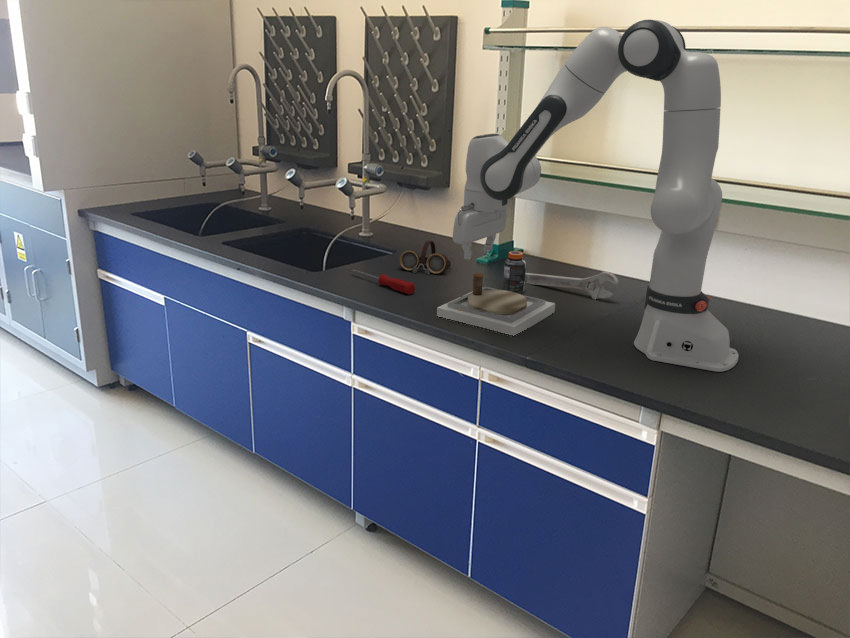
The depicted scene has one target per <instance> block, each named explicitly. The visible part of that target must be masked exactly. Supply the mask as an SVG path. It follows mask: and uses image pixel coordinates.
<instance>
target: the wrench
mask: <svg viewBox="0 0 850 638" xmlns="http://www.w3.org/2000/svg"><path fill="white" fill-rule="evenodd" d="M525 277H527V281H526V283H529V284H528V285H533V286H535V285H536V286H537V285H538V286H545V287H546V286H547V287H556V288H568V289H569V288H570V289H574V290H575V289H577V290H580V291H581V290H582V291H584V292H585V293H587V294H588V295H590V296H591V299H592V300H594V301H597V300H599V299H607V298H611V297H613V296H614V293H613V292H612V291H610V290H608V289H605V285H604V284H605V282H607V281H608V282H609V283H612V285H618V284H619V279H618V277H617V275H615V274H614V273H612V272H610V271H602V272H600V273H598V274H596V275H595V274H594V275H591V276H589V277H584V278H581V277H580V278H579V277H573V276H572V277H571V276H570V277H569V276H561V275H551V274H540V273H531V272H525ZM526 283H525V284H526ZM596 299H597V300H596Z"/></svg>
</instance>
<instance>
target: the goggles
mask: <svg viewBox="0 0 850 638" xmlns="http://www.w3.org/2000/svg"><path fill="white" fill-rule="evenodd" d="M429 245H430V251H431V254H430V255H429V256H428V257H427V256H426V255H427V251H428V248H429ZM420 254H421V255H419V253H417V251H416V250H413V249H409V250H406V251H404V252H402V254H401V255H400V258H399V264H400V266H401V268H403V270H406V271H412V273H414V274H416V273H417V272H418V270H419V269H420V268H421V269H423V270H424V274H426V275H430V274H431V273H432V274H437V275H438V274H443V273H445V272H447V270H448V268H450V267H451V265H452V264H451V260H449V259H448V257H447V256H446V255H445V254H444V253H441V252H437V251H436V245H435V242H434V241H433V240H426V241H425V242H424V245H423V246H422V250H421V253H420Z"/></svg>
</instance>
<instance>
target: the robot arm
mask: <svg viewBox="0 0 850 638" xmlns="http://www.w3.org/2000/svg"><path fill="white" fill-rule="evenodd" d="M686 46H687V45H686V41H685V38H684V35H683V33H682V32H680V30H679V29H678V28H676V27H675V26H673V25H671V24H669V22H665V21H663V20H658V19H643V20H640V21H637V22H635V23H633V24H631V25H630V26H628V28H626V30H625V31H624V32H623V34H622V33H621V32H619V30H617V29H614V28H612V27H608V26H600V27H596V28H594V29H593V30H592V31H591V32H589V33H588V34H587V36H585V38H584V39H582V40H581V42H580V43H579V44H578V46H577V47H576V48H574V50H572V52H571V54H570V55H569V57H567V60H566V61H565V62H564V64H563V65H562V67H561V68H560V69H559V71H558V72H557V74H556V76H555V77H554V79H553V80H552V82H550V83H551V84H550V85H549V87H548V88H547V90H546V92H545V93H544V95H543V96H542V98H541V99H540V101H539V102H538V103H537V106H536V107H535V109H534V110H533V111H532V113H531V114H530V115H529V116H528V117H527V119H526V120H525V121H524V123H523V124H522V126H521V127H520V128H519V129H518V130H517V132H516V133H515V134H514V136H513V137H512V138H511V140H510V141H507V140H506V139H505V138H504V137H503V136H502V135H501V134H499V133H487V134H482V135H481V134H480V135H477V136H473V137H472V138H471V139H470V141H469V143H468V147H467V153H466V161H465V174H466V181H465V184H464V190H463V191H464V195H463V205H462V206H461V207H460V209H459V210H458V211H457V213H456V215H455V217H454V224H453V231H452V240H453V243H455V244H457V245H461V247H462V250H463V258H464V259H465V260H471V259H474V251H472V248H471V247H472V246H473V243H474V242H477V241H480V240H482V239H486V240H485V243H484V244H483V251H484V252H486V253H489V252H490V253H491V251H493V245H494V243H495V240H496V236H497V234H499V233H502V232H504V231H505V228H506V225H507V224H506V223H507V217H508V208H507V206H508V205H509V203H510V199H511V198H513V197H515V196H517V195H518V194H521V193H523V192H526V191H527V190H530V189H531V188H533V187H534V186H536V185H537V183H538V182H539V180H540V178H541V173H542V166H541V163H540V160H539V159H538V157H537V156H536V155H537V154H539V151H540V150H541V149H542V148H543V146H544V145H545V144H546V143H547V142H548V140H549V139H550V138H552V136H553V135H554V134H555V133H556V132H558V131H560V129H563V127H566V126H567V125H568V124H571V123H574V122H576V121H577V120H579V119H581V118H583V117H584V116H586V115H587V114H588V113H589V112H590V111H591V110H592V109H593V108H594V107H595V106H596V105H597V104H598V103H599V102H600V101H601V100H602V98H603V97H604V95H605V94H606V92H607V91H608V90H609V89H610V87H612V85H613V83H614V82H615V80H617V78H619V76H620V75H622V74H624V73H625V72H628V73H630V74H632V75H633V76H636V77H639V78H644V79H649V80H653V81H656V82H660V83H661V85H662V88H663V94H664V96H663V97H664V99H663V120H662V122H663V124H662V125H663V126H662V145H661V146H662V147H661V148H662V149H661V156H660V162H659V167H658V172H657V177H656V182H655V188H654V189H655V190H654V195H653V198H652V201H651V204H650V216H651V220H652V221H653V224H654V225H655V226H656V227H657V228H658V229H659V230H660V235H659V238H658V242H657V244H656V246H655V249H654V252H653V257H652V264H651V271H650V279H649V285H647V287H646V291H645V296H644V304H643V305H644V306H643V307H644V308H643V309H644V313H643V317H642V321H641V323H640V327H639V330H638V333H637V335H636V337H635V339H634V341H633V345H634V347H635V348H636V349H637V350H638V351H640V352H642V353H643V354H645V355H646V357H647V359H649V360H651V361H655V362H662V363H665V364H671V365H672V364H673V365H678V366H682V367H683V366H684V367H689V368H693V369H694V368H695V369H699V370H705V371H706V370H707V371H710V372H711V371H712V372H717V373H718V372H719V373H721V372H725V371H729V370H731V369H732V368H734V367H735V366H736V365H737V364H738V361H739V353H738V351H737V350H736V349H735V348H732V347H731V346H730V333H729V330H728V328H727V326H725V325H724V324H723V323H721V321H720V320H719V319H718V318H716V317H715V315H713V314H712V313H711V312H710V311H709V310H708V309H709V305H710V301H711V294H710V295H708V296H707V295H706V294H705V293H704V292H703V291H702V288H703V283H704V282H703V281H704V276H705V270H706V269H705V268H706V264H707V258H708V254H709V251H710V247H711V244H712V240H713V237H714V233H715V229H716V227H717V221H718V218H719V213H720V209H721V206H722V202H723V201H722V200H723V192H722V189H721V188H722V187H721V186H720V184H719V182H718V181H717V180H715V179H713V178H712V177H713V172H714V167H715V161H716V157H717V153H718V150H719V144H720V129H721V128H720V126H721V124H720V123H721V107H722V105H721V104H722V89H721V88H722V87H721V77H720V69H719V64H718V61H717V59H716V58H715V57H714V56H712V55H711V54H709V53H706V52H703V51H702V52H701V51H693V52H692V51H691V52H690V51H687V50H686V48H687V47H686Z"/></svg>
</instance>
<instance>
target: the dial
mask: <svg viewBox="0 0 850 638" xmlns="http://www.w3.org/2000/svg"><path fill="white" fill-rule="evenodd" d="M483 279H484V274H483V273H481V272H475V273H474V272H473V279H472V291H473V293H471V294H470V295H469V296H468V305H469V306H470V307H472V308H476V309H480V310H484V311H488V312H492V313H496V314H513V313H517V312H519V311H521V310H523V309H524V308H526V307H527V299H526V298H525V297H524V296H523V295H524V294H522V293H520V294H518V293H515V292H511V291H505V290H503V289H499V290H482V287H483V281H484V280H483Z"/></svg>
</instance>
